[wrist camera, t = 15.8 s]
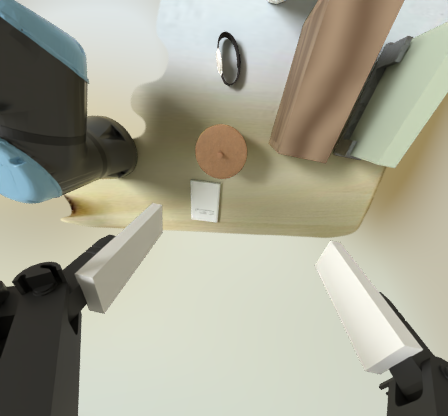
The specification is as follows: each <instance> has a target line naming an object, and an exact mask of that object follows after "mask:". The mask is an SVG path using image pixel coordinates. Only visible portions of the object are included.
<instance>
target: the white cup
mask: <svg viewBox="0 0 448 416" xmlns="http://www.w3.org/2000/svg"><path fill="white" fill-rule="evenodd" d="M267 1H268V2H270V3H274V4H279V3H281V2H283V1H286V0H267Z"/></svg>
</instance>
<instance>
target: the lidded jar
mask: <svg viewBox="0 0 448 416" xmlns="http://www.w3.org/2000/svg"><path fill="white" fill-rule="evenodd" d="M195 154H196V159H197V162H198V164H199V166H200V167H201V169H202V170H203V171H204V172H205V173H206V174H208V175H210V176H212V177H214V178H218V179H226V178H230V177H232V176H234V175H236V174H237V173H238V172H239V171H240V170H241V169H242V168H243V166H244V164H245V162H246V159H247V146H246V142H245V140H244V138H243V136H242V135H241V134H240V133H239V132H238V131H237V130H236V129H235V128H233V127H231V126H228V125H224V124H218V125H213V126H211V127H209V128H207V129H206V130H204V131H203V132H202V133H201V135H200V136H199V138H198V140H197V143H196V147H195Z"/></svg>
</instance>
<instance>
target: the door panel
mask: <svg viewBox="0 0 448 416" xmlns="http://www.w3.org/2000/svg"><path fill="white" fill-rule="evenodd" d="M447 93H448V22H446V23H444V24H442V25H440V26H438V27H436V28H434V29H432V30H429V31H427V32H425V33H423V34H421V35H419V36H417V37H415V38H413V39H412V41H411V42H410V44H409V46H408V48H407V50H406V52H405V54H404V55H403V57H402V59H401V61H400V63H397V64H394V65H391V66H389V67H387V68H386V69H385V71H384V73H383V75H382V77H381V79H380V81H379V83H378V85H377V87H376V89H375V91H374V93H373V95H372V97H371V99H370V101H369V102H368V104H367V106H366V108H365V110H364V112H363V114H362V116H361V118H360V120H359V122H358V124H357V126H356V128H355V130H354V132H353V134H352V136H351V137H350V139H349V140H353V141H357V143H356V144H355V146H354V148H353V150H352V152H351V154H350V155H351V156H354V157H357V158H360V159H363V160H365V161H368V162H371V163H374V164H377V165H382V166H387V167H392V168H395V167H396V166H397V164H398V163H399V162H400V160H401V159H402V157H403V156H404V154H405V153H406V152H407V150H408V149H409V147H410V146H411V144H412V143H413V142H414V140H415V139H416V137H417V136H418V134H419V133H420V131H421V130H422V128H423V127H424V126H425V124H426V123H427V121H428V120H429V119H430V117H431V116H432V114H433V113H434V111H435V110H436V109H437V107H438V106H439V104H440V103H441V101H442V100H443V98H444V97H445V95H446V94H447Z"/></svg>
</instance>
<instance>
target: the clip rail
mask: <svg viewBox="0 0 448 416" xmlns="http://www.w3.org/2000/svg"><path fill="white" fill-rule="evenodd" d="M412 39H413V37H411V36H407V37H405V38H403V39H401V40H399V41H397V42H395V43H391V42H390V43H388V44H386V45H385V47H384V50H383V52H382V54H381V56H380V58H379V60H378V62H377V64H376V66H375V68H374V70H373V72H372V74H371V76H370V78H369V80H368V82H367V84H366V86H365V89H364V91H363V93H362V95H361V97H360V99H359V101H358V103H357V105H356V107H355V109H354V111H353V113H352V115H351V117H350V119H349V121H348V123H347V125H346V128H345V130H344V132H343V134H342V136H341V138H340V140H339V142H338V144H337V146H336V148H335V150H334V152H333V154H334V155H338V156H343V157H348V158H353V159H357V160H361V159H360V158H357V157H354V156H351V155H350V154H351V152H352V150H353V148H354V146H355V144H356V143H357V141H353V140H349V139H350V137H351V136H352V134H353V132H354V130H355V128H356V126H357V124H358V122H359V120H360V118H361V116H362V114H363V112H364V110H365V108H366V106H367V104H368V102H369V101H370V99H371V97H372V95H373V93H374V91H375V89H376V87H377V85H378V83H379V81H380V79H381V77H382V75H383V73H384V71H385V69H386V68H387V67H389V66H391V65H394V64H397V63H400V61H401V59H402V57H403V55H404V54H405V52H406V50H407V48H408V46H409V44H410V42H411V41H412Z"/></svg>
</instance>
